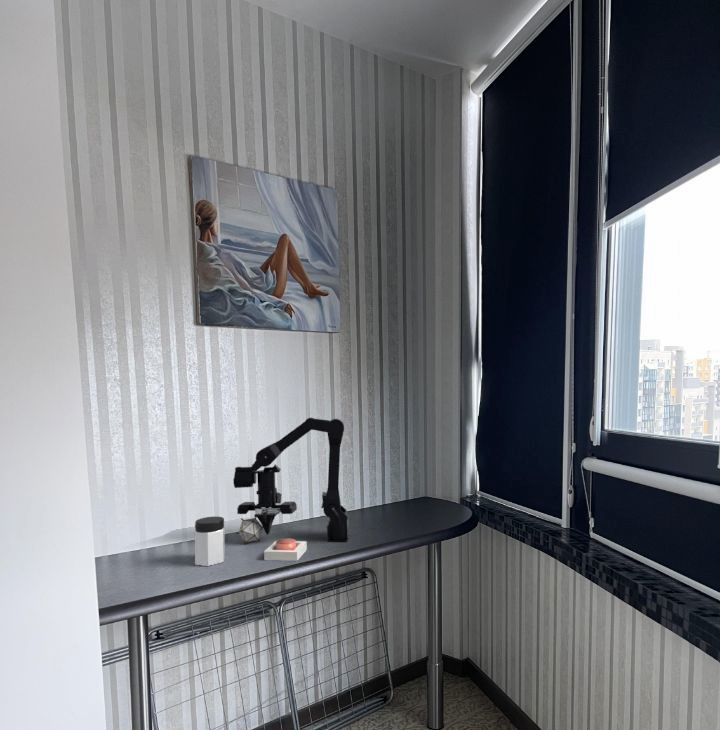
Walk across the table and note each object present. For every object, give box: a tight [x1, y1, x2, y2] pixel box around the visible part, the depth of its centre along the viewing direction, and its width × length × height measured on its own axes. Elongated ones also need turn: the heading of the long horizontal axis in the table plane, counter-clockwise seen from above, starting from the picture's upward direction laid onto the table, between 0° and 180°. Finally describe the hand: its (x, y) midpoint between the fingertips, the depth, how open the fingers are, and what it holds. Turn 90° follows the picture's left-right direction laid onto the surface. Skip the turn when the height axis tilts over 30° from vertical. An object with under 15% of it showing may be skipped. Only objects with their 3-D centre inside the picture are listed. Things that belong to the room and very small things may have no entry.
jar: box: [194, 516, 226, 567], centre depth 137 cm, size 9×8×12 cm
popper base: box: [263, 540, 308, 562], centre depth 140 cm, size 10×10×2 cm
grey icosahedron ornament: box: [235, 516, 264, 546], centre depth 153 cm, size 9×8×10 cm
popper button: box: [275, 537, 297, 550], centre depth 140 cm, size 6×6×4 cm
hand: (267, 534), depth 152 cm, fingers closed
